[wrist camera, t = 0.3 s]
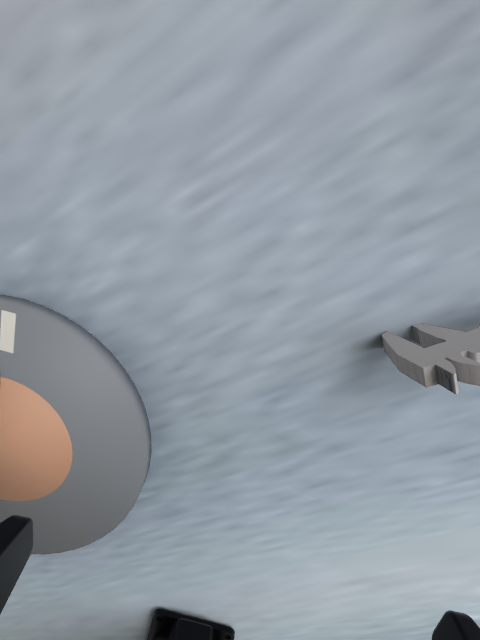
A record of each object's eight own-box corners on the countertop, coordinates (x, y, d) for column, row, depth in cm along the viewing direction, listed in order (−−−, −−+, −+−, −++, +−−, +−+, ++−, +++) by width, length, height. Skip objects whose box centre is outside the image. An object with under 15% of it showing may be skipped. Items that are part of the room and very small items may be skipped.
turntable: (127, 566, 27) (120, 582, 26) (-117, 500, 27) (-134, 514, 26) (177, 341, 21) (171, 349, 20) (-132, 256, 21) (-155, 260, 20)
